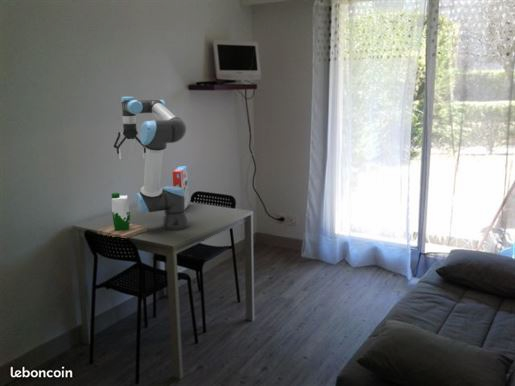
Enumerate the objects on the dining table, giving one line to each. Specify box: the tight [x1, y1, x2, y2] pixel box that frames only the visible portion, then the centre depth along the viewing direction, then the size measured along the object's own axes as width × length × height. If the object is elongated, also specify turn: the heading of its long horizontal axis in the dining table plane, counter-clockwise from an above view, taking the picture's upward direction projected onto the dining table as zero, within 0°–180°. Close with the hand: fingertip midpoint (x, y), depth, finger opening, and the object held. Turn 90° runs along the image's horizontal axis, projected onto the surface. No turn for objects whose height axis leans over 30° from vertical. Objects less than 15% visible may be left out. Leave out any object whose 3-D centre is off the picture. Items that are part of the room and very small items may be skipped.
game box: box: [172, 165, 190, 210], centre depth 295 cm, size 21×6×27 cm, turn 178°
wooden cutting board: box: [96, 223, 148, 239], centre depth 248 cm, size 20×18×2 cm
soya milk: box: [111, 192, 131, 231], centre depth 246 cm, size 9×9×20 cm
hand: (132, 158), depth 270 cm, fingers open, 13 cm apart
